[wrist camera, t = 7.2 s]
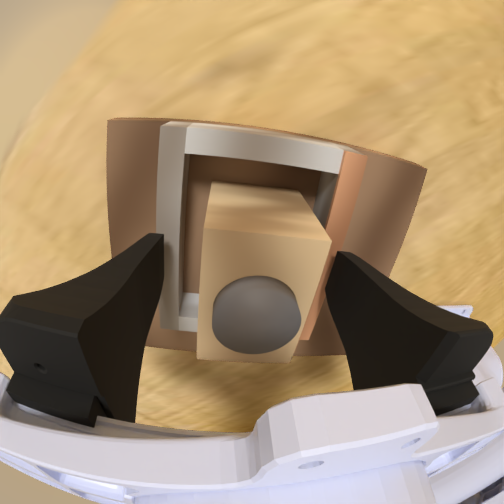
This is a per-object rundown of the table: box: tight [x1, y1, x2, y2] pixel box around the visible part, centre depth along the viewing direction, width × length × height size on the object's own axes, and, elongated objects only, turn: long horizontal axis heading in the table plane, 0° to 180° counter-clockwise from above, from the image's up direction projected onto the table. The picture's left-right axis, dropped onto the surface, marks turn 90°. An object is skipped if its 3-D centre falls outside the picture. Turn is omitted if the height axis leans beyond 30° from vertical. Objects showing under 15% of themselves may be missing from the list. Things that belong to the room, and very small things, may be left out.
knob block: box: [197, 180, 332, 363], centre depth 12 cm, size 4×6×6 cm
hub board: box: [107, 118, 427, 356], centre depth 15 cm, size 16×14×3 cm
